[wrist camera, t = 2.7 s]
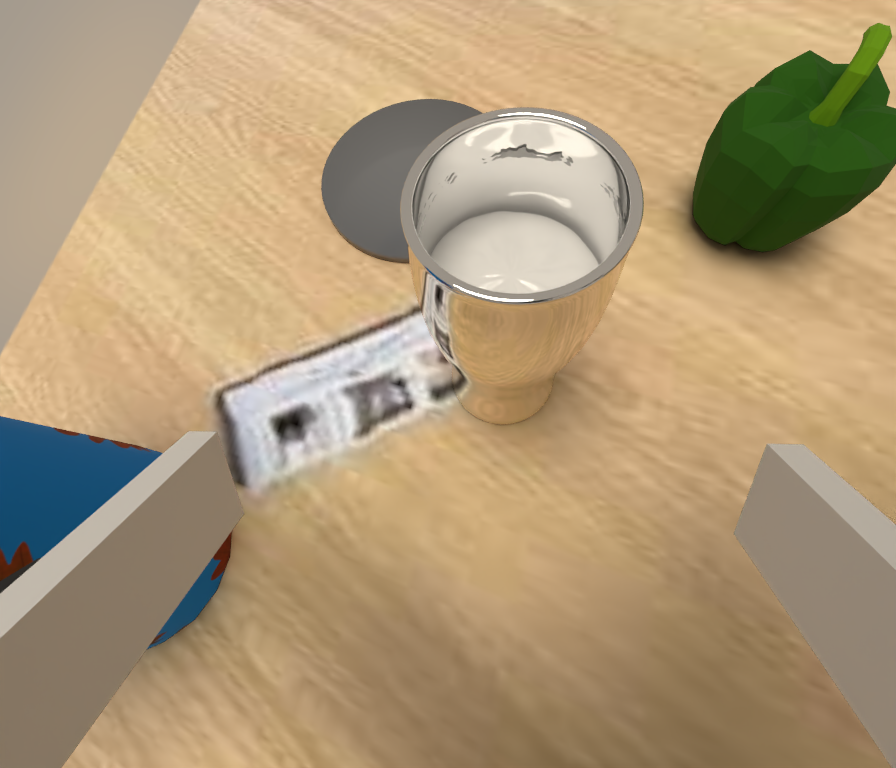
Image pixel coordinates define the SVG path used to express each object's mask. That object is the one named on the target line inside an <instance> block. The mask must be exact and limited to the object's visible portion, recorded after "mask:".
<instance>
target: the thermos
mask: <svg viewBox="0 0 896 768" xmlns="http://www.w3.org/2000/svg"><path fill="white" fill-rule="evenodd" d="M162 454H163V453H160V452H157V451H154V450H150V449H147V448H143V447H140V446H136V445H132V444H127V443H123V442H118V441H113V440H109V439H104V438H99V437H94V436H90V435H85V434H80V433H76V432H71V431H66V430H62V429H57V428H52V427H48V426H43V425H38V424H34V423H29V422H24V421H20V420H15V419H10V418H6V417H1V416H0V581H1V580H3V579H5V578H6V577H8V576H10V575H11V574H13V573H15V572H16V571H18V570H20V569H21V568H23V567H25V566H26V565H28V564H29V563H31V562H33V561H34V560H36V559H38V558H42V557H43V556H44V555H46V554H47V553H48V552H49V551H50V550H51V549H53V548H54V547H55V546H56V545H57V544H58V543H60V542H61V541H62V540H63V539H64V538H65V537H67V536H68V535H69V534H70V533H71V532H72V531H73V530H75V529H76V528H77V527H78V526H79V525H80V524H82V523H83V522H84V521H85V520H86V519H87V518H89V517H90V516H91V515H92V514H93V513H94V512H96V511H97V510H98V509H99V508H100V507H101V506H103V505H104V504H105V503H106V502H107V501H108V500H109V499H111V498H112V497H113V496H114V495H115V494H116V493H118V492H119V491H120V490H121V489H122V488H123V487H125V486H126V485H127V484H128V483H129V482H130V481H132V480H133V479H134V478H135V477H136V476H137V475H139V474H140V473H141V472H142V471H143V470H144V469H145V468H147V467H148V466H149V465H150V464H151V463H152V462H154V461H155V460H156V459H157V458H158V457H159V456H161V455H162ZM231 533H232V531H231ZM231 533H230V534H229V535H228V537H227V538H226V540H225V541H224V542H223V544H222V545H221V547H220V548H219V549H218V551H217V552H216V553H215V555H214V556H213V558H212V559H211V560H210V562H209V563H208V565H207V566H206V567H205V569H204V570H203V572H202V573H201V574H200V576H199V577H198V579H197V580H196V581H195V583H194V584H193V585H192V587H191V588H190V590H189V591H188V592H187V594H186V595H185V597H184V598H183V599H182V601H181V602H180V604H179V605H178V606H177V608H176V609H175V611H174V612H173V613H172V615H171V616H170V617H169V619H168V620H167V622H166V623H165V624H164V626H163V627H162V629H161V630H160V631H159V633H158V634H157V636H156V637H155V638H154V640H153V641H152V643H151V644H150V645H149V647H148V648H147V649H149V648H151V647H153V646H156V645H158V644H160V643H162V642H164V641H166V640H167V639H169V638H170V637H172V636H173V635H174V634H176V633H177V632H178V631H180V630H181V629H183V628H184V627H185V626H187V625H188V624H189V623H191V622H192V621H194V620H195V618H196V617H197V616H198V615H199V613H200V612H201V611H202V609H203V608H204V607H205V605H206V604H207V603H208V601H209V600H210V599H211V597H212V596H213V595H214V593H215V592H216V591H217V589H218V586H219V583H220V581H221V578H222V576H223V573H224V570H225V568H226V565H227V562H228V560H229V557H230V548H231ZM147 649H146V650H147Z"/></svg>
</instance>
